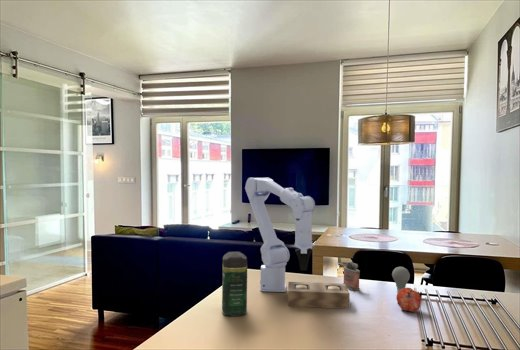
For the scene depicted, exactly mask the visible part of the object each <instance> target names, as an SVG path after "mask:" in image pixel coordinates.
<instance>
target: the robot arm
mask: <svg viewBox="0 0 520 350" xmlns="http://www.w3.org/2000/svg"><path fill="white" fill-rule="evenodd" d="M244 189H245V192H246V195H247V197H248V200H249V203H250V207H251V209H252V213H253V216H254V218H255V221H256V222H255V223H257V227H258V230H259V233H260V236H261V238H262V241H263V244H262V245H261V247H260V254H261V261H262V262H263V263H262V264H261V266H260V280H259V284H260V288H259V289H260V290H259V292H271V293H272V292H273V293H274V292H275V293H276V292H277V293H286V292H287V284H286V265H287V264H288V263H287V262H289V260H290V256H291V255H290V251H289V249H288V247H287V246H286V245H285V242H284V241H282V240H280V239H279V238H278V237H277V234H276V231H275V229H274V226H273V223H272V220H271V218H270V215H269V213H268V210H267V207H266V204H265V202H266V200H267V199H268V198H269V196H270V194H274V195H275V196H278V197H279V200H280V201H281V202H282V203H284V204H285V205H287V206H288V207H290V208H291V210H292V212H293V218H294V225H295V226H294V229H295V230H294V232H295V233H294V235H295V237H294V239H295V241H294V247H296V248H295V251H294V252H295V254H296V256H297V259H298V264H299V271H302V272H303V271H307V270H308V266H309V260H310V257H311V255H312V247H315V246H316V244H315V243H314V242H312V230H313V229H312V227H313V226H312V225H313V224H312V223H313V221H312V220H313V219H312V218H313V217H312V214H313V213H312V212H313V211H314V210H315V209H316V202H315V200H314V198H313V197H311V196H310V195H305V196H304V195H303V193H301V192H297V191H296V190H294V188H293V187H282V186H281V185H280V184H278V183H277V182H275V181H274V179H272V178H270V177H248V178H247V180H246V182H245V187H244Z"/></svg>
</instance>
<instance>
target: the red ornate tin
mask: <svg viewBox="0 0 520 350" xmlns="http://www.w3.org/2000/svg"><path fill="white" fill-rule="evenodd" d="M358 268H359V264H358V263H354V262H353V261H346V262H345V265H344V266H343V283H342V284H345V285H346V287H347V289H348V290H349V291H353V292H360V290H361V288H360V274H361V273H360V272H361V270H359V269H358Z"/></svg>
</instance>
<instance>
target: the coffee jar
mask: <svg viewBox="0 0 520 350" xmlns="http://www.w3.org/2000/svg"><path fill="white" fill-rule="evenodd" d="M221 276H222V279H221V280H222V285H221V288H222V289H221V290H222V291H221V310H222V313H223V314H224V315H226V316H231V317H238V316H241V315H245V314H247V310H248V309H247V308H248V306H247V305H248V257H247V256H246V255H245V254H244V253H242V252H241V251H228V252H226V253H225V254H224V255H223V256H222V275H221Z"/></svg>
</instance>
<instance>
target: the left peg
mask: <svg viewBox="0 0 520 350" xmlns="http://www.w3.org/2000/svg"><path fill="white" fill-rule="evenodd" d="M296 289H307V286H305V285H297V286H296Z"/></svg>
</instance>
